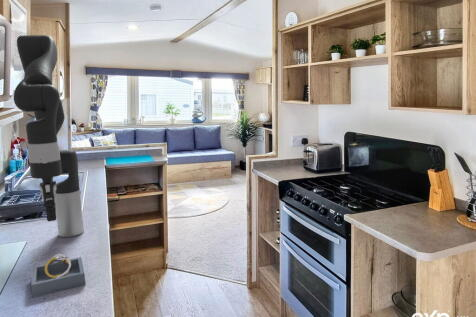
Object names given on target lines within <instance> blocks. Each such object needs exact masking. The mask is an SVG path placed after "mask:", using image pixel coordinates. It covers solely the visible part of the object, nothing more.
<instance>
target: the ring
mask: <svg viewBox="0 0 476 317" xmlns="http://www.w3.org/2000/svg"><path fill="white" fill-rule="evenodd" d="M70 259H71V258H69V256H66V255H64V254H61V253H58V254H55V255H53V257H51V258H50V259H48V260H47V261H46V265H45V264H44V265H45V273H46V275H47V276H48V277H49V278H51V279H54V278H58V277H62V276H66V275H67V274H68V273H69V272H70V270H71V268H72V265H71V261H70ZM60 261H62V262H65V263H67V264H68V265H69V267H68V269H67V271H66V272H64V273H63V274H61V275H59V274H58V275H56V276H53V275H50V274H49V273H48V268H49V266H50V265H51V264H52V263H55V262H60Z"/></svg>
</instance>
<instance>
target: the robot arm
mask: <svg viewBox="0 0 476 317" xmlns="http://www.w3.org/2000/svg"><path fill="white" fill-rule="evenodd" d="M16 47H17V53H18V56H19V60H20V63H21V66H22V69H23V71H24V72H23V73H24V74H23V75H24V76H23V78H22V80H20V82H19V83H18V84H17V85H16V87H15V88H14V92H13V102H14V104H15V106H16V108H17V109H18V110H20V111H22V112H25V113H30V112H31V113H34V118H35V120H32V121H31V120H30V121H29V122H27V123H26V125H25V130H26V132H25V133H26V136H27V148H28V149H27V154H28V163H29V171H30V176H31V178H32V179H36V180H37V179H38V180H42V182H40V183H39V191H40V192H41V200H42V201H43V207H44V209H45V212H46V213H45V214H46V221H47V222H53V221H56V223H57V224H56V226H57V233H58V234H57V235H58V236H59V237H61V238H70V237H71V238H72V237H75V236H78V235H79V236H80V235H82V234H83V233H84V232H85V227H84V226H85V225H84V216H83V210H82V208H83V207H82V199H81V191H80V189H81V188H80V178H79V177H80V176H79V161H78V159H79V158H78V154H77V152H76V151H75V150H74V149H60V147H59V144H58V134H59V132H60V130H61V128H62V127H63V125H64V122H65V113H64V111H65V110H64V107H63V103H62V99H61V97H60V92H59V89H58V88H57V87H56V86H55V85H53V72H54V71H55V68H56V65H57V62H58V49H57V44H56V42H55V40H54V38H53V37H52V36H51V35H47V34H41V35H40V34H39V35H38V34H37V35H36V34H35V35H31V34H29V35H25V34H24V35H18V36H17V38H16ZM61 175H68V176H67V178H66V179H64V180H61V181H60V182H57V181H56V180H54V178H56V177H59V176H61Z"/></svg>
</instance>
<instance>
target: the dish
mask: <svg viewBox="0 0 476 317" xmlns="http://www.w3.org/2000/svg"><path fill="white" fill-rule="evenodd" d="M69 259H70V261H71V265H72V268H71V270H70V272H69V273H68V274H67V275H66V276H62V277H58V278H54V279H51V278H49V277H48V276H47V275H46V273H45V265H46V264H42V265H41V264H40V265H36V266H33V267H32V274H31V276H32V277H31V284H30V286H31V293H32V294H31V295H32V298H36V297H40V296H45V295H48V294H52V293H56V292H60V291H65V290H69V289H73V288H77V287H81V286H82V287H83V286H86V277H85V276H86V275H85V270H84V265H83V264H84V263H83V258H82V256H80V257H76V258H69ZM68 267H69V265H68V264H67V263H65V262H62V261H59V262H54V263H52V264H51V265H50V266H49V268H48V273H49V274H50V275H53V276H56V275H58V274H59V275H61V274H63V273H64V272H66V271H67V269H68Z"/></svg>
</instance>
